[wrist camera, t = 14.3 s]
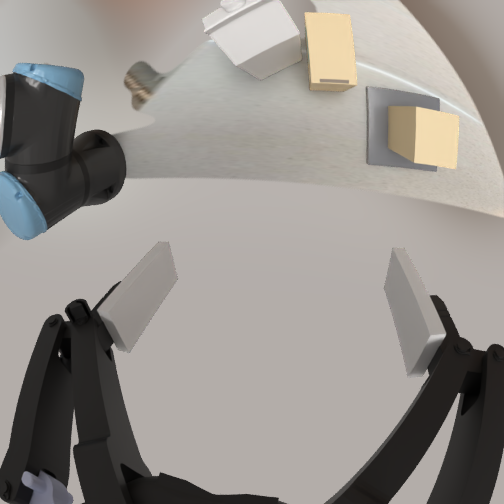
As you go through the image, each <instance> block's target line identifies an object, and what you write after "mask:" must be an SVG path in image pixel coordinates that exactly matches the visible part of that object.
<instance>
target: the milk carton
mask: <svg viewBox="0 0 504 504" xmlns="http://www.w3.org/2000/svg"><path fill="white" fill-rule="evenodd" d="M220 6H221V7H220V8H219V9H217V10H215V11H214V12H212V13H210V14H209V15H207V16H206V17H204V18H203V19H202V21H203V23H204V26H205V28H206V29H205V30H204V32H205V33H207V34H208V35H209V36H210V37H211V38H212V39H213V40H214V41H215V43H216V44H217V45H218V46H219V47H220V48H221V49H222V51H223V52H224V53H225V54H226V55H227V56H228V58H229V59H230V60H231V61H232V62H233V63H234V65H235V66H237V67H239V68H241V69H242V70H244V71H246V72H247V73H249V74H251V75H252V76H254V77H255V78H257V79H259V80H263V79H265V78H267V77H269V76H271V75H273V74H275V73H276V72H278V71H280V70H283V69H285V68H287V67H289V66H291V65H293V64H295V63H297V62H299V61H301V60H302V53H301V41H300V32H299V31H298V29H297V27H296V26H295V24H294V22H293V20H292V19H291V17H290V16H289V14H288V12H287V11H286V9H285V8H284V6H283V5H282V3H281V2H280V0H222V1H221V3H220Z"/></svg>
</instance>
